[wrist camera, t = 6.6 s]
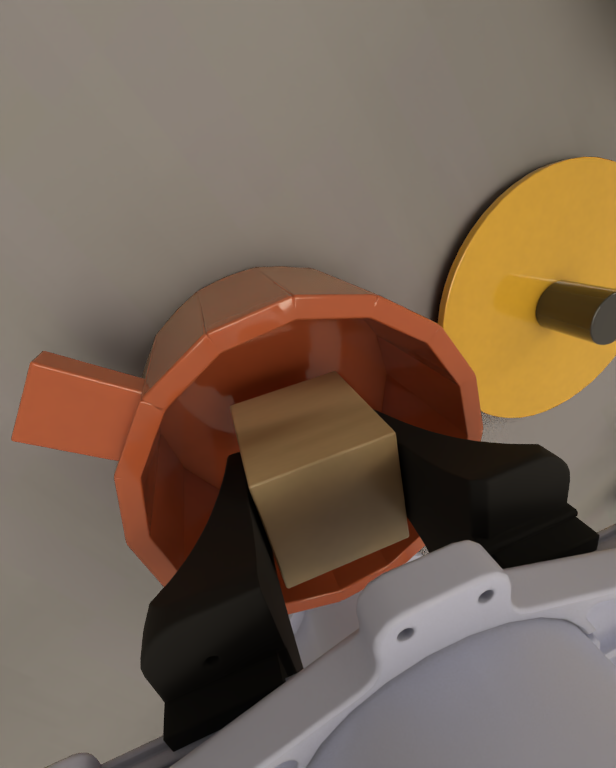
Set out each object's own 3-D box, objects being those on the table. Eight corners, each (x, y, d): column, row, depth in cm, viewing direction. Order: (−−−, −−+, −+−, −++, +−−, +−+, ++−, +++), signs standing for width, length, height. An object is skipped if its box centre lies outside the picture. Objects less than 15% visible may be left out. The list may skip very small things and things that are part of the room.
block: (352, 455, 17) (410, 537, 13) (260, 490, 16) (287, 590, 12) (335, 370, 15) (396, 432, 11) (229, 405, 14) (248, 487, 10)
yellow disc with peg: (544, 432, 26) (605, 469, 22) (386, 372, 20) (432, 407, 17) (676, 235, 22) (775, 239, 19) (529, 97, 17) (629, 63, 13)
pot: (366, 520, 24) (427, 622, 18) (42, 463, 17) (-38, 603, 11) (467, 342, 21) (583, 394, 15) (123, 178, 14) (73, 147, 8)
